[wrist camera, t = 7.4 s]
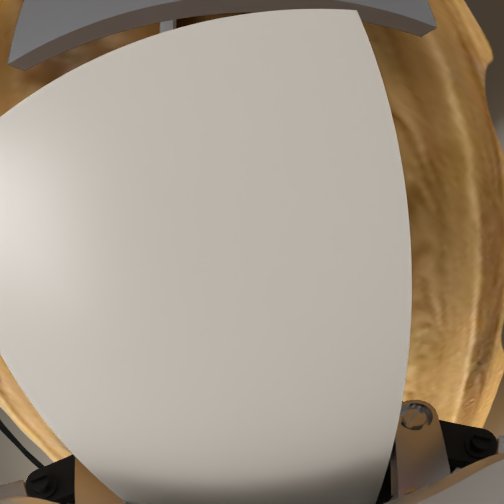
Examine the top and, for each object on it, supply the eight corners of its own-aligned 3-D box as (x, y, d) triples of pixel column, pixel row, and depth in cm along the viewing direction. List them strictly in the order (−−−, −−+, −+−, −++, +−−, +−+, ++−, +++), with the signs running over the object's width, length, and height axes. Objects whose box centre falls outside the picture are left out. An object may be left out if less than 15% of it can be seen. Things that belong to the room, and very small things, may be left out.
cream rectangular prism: (237, 465, 13) (243, 569, 6) (121, 164, 8) (-56, 168, 2) (324, 448, 13) (356, 549, 6) (268, 124, 8) (357, 11, 2)
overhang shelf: (108, 225, 21) (17, 273, 9) (111, -18, 14) (65, -83, 3) (360, 203, 21) (459, 233, 10) (324, -36, 15) (365, -107, 4)
